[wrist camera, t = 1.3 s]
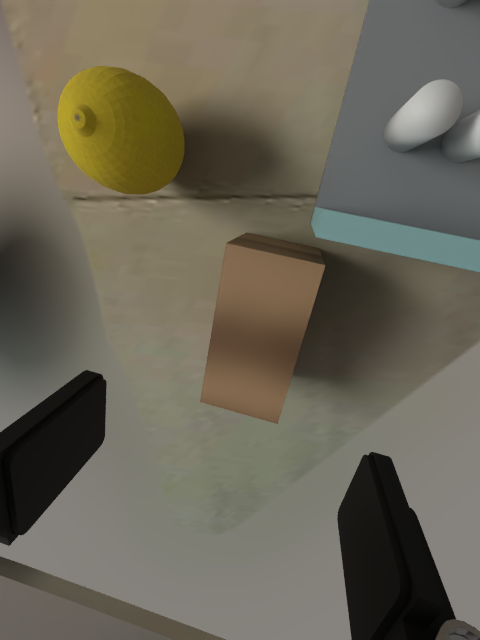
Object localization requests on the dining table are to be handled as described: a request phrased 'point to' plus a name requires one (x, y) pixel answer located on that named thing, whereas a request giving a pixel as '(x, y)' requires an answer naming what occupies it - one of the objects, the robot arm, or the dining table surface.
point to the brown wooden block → (260, 323)
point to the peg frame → (409, 136)
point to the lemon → (120, 130)
